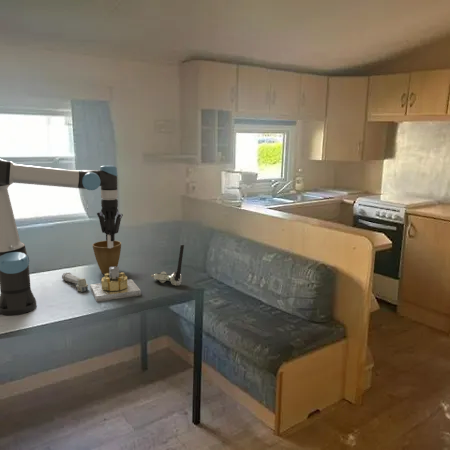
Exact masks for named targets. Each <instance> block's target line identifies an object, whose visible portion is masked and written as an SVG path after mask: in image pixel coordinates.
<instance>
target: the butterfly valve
mask: <svg viewBox="0 0 450 450" xmlns="http://www.w3.org/2000/svg"><path fill="white" fill-rule="evenodd" d="M184 248H185V245H184V244H180V248H179V256H178V263H177V269H176V271H174V272H173V273H172V274H167V272H166V271H161V272H160V273H158V272H157V273H154V274H150V277H151V278H153V279H154V280H156V281H159V283H162V284H165V283H166V282H170V284H171V285H172V286H175V287H176V286H180V285H181V283H182V279H183V276H182V274H181V273H182V272H181V271H182V263H183V255H184Z"/></svg>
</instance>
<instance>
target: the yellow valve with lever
mask: <svg viewBox="0 0 450 450" xmlns="http://www.w3.org/2000/svg"><path fill="white" fill-rule="evenodd" d="M103 275H104V276H103V277H101V281H100V283H102V289H103V290H107V291H118V290H122V289H125V288H127V286H128V284H127V280H128V276H127V275H126V274H125V272H123V271H122V272H119V277H118V280H117V281H110V276H109V273H107V274H103Z"/></svg>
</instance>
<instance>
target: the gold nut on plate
mask: <svg viewBox="0 0 450 450" xmlns="http://www.w3.org/2000/svg"><path fill="white" fill-rule="evenodd" d="M119 273H120V267H119V266H117V267H116V266H114V267H110V268H109V276H110V281H117V280H118V277H119ZM127 284H128V286H127V288H125V289H122V290H118V291H107V290H103V289H102V283H101V282H99V283H93V284H89V290H90V291H91V293H92V296H93V298H94V300H95V302H103V301H104V302H105V301H110V300H111V301H112V300H118V299H125V298H131V297H139V296H141V295H142V294H141V293H142V292H141V291H142V290H141V289H140V288H139V286H138V285H137V283H135V282H134V280H133V279H127Z"/></svg>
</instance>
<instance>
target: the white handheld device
mask: <svg viewBox="0 0 450 450" xmlns="http://www.w3.org/2000/svg"><path fill="white" fill-rule="evenodd" d="M61 278H62V280H63V281H65V282H69V283H73V284H76V285H75V287H76V289H77V292H79V293H80V292H82V293H83V292H87V291H88V290H89V284H88V283H87V281H86V280H87V279H86V278H85V277H78V276H76V275H74V274H72V273H71V272H64V273H63V274H62V275H61Z"/></svg>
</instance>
